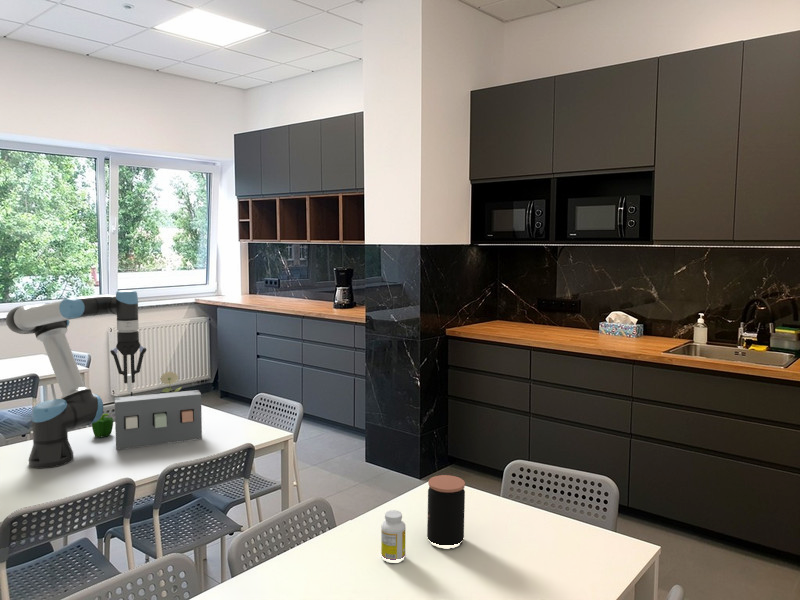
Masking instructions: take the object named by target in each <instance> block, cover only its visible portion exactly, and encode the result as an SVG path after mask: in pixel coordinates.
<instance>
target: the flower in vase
mask: <svg viewBox="0 0 800 600" xmlns="http://www.w3.org/2000/svg"><path fill="white" fill-rule="evenodd" d="M159 379H160V382H161V383H162V384H164V385H165V384H166V385H172V384H175V383H177V381H178V379H179V376H178V374H177V372H174V371H166V372H165V373H163V374H161V377H159ZM171 387H172V386H169V388H168V387H166V388H163V389H162V390H161V392H162V393H170V391H171V393H173V392H180V391H181V389H182V386H181V387H179V388H178V387H177V388H176V389H174V391H173V389H172V388H171Z"/></svg>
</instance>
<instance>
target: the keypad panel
mask: <svg viewBox="0 0 800 600" xmlns="http://www.w3.org/2000/svg"><path fill="white" fill-rule="evenodd" d="M201 393H202V392H200V390H198V389H197V390H196V389H195V390H185V391H177V392H174V391H173V392H162V393H153V394H142V395H141V394H140V395H133V396H131V395H129V396H121V397H114V399H113V400H114V425H115V428H114V429H115V446H116V447H115V448H116V450H119V451H120V450H124V449H126V448H127V449H133V448H141V447H148V446H149V447H150V446H157V445H164V444H170V443H171V444H173V443H179V442H186V441H187V442H188V441H197V440H202V439H203V431H202V430H203V427H202V423H203V422H202V421H203V418H202V394H201ZM188 409H192V411H193V421H191V422H183V423H182V421H181V419H180V410H188ZM161 412H165V414H166V418H167V427H159V428H155V425H154V413H161ZM132 415H137V421H138V428H131V429H126V425H125V416H132ZM127 449H126V450H127Z"/></svg>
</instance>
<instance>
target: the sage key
mask: <svg viewBox="0 0 800 600" xmlns="http://www.w3.org/2000/svg"><path fill="white" fill-rule="evenodd" d="M154 425H155V428H159V427H167V418H166V414H165V412H161V413H154Z"/></svg>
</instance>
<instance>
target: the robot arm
mask: <svg viewBox="0 0 800 600" xmlns="http://www.w3.org/2000/svg"><path fill="white" fill-rule="evenodd" d="M104 315H116V330H117V334H116V335H117V336H116V337H117V339H116V340H117V343H116V345H115V347H113V349H110V350H109V353H110V354H111V355H112V356H113V359H114V362H115V365H116V368H117V369H116V370H117V372H118V374H119V375H123V383H124V384H126V386H127V393H131V392H132V393H133V384H135V382H136V375H137V374H139V373H140V372H141V368H142V364H143V358H144V355H145V353H146V352H147V348H146V347H144V346H142V345H141V343H140V334H139V333H140V332H139V329H140V328H139V326H140V324H139V297H138V292H137V291H136V290H132V289H131V290H129V289H127V290H117V291H116V292H115V294H108V293H104V294H103V293H101V294H97V295H89V296H79V297H78V296H77V297H76V296H74V297H67V298H64V299H62V300H58V301H54V302H47V303H46V302H45V303H39V304H28V305H20V306H19V305H18V306H16V307H14V308H12V309H10V311H9V312H8V313H7V314H6V317H5V322H6V326H7V327H8V329H9V330H10V331H12V332H14V333H16V334H18V335H19V334H20V335H30V334H32V335H33V334H34V335H35V337H36V340H37V341H39V342H42V344H43V346H44V349H45V352H46V354H47V357H48V359H49V363H50V366H51V367H52V371H53V374H54V376H55V378H56V381H57V384H58V386H59V388H60V392H61V394H62V395H61V397H60V398H55V399H48V400H45V401H42V402H39V403H38V404H36V405H34V407H33V408H32V411H31V423H32V442H33V443H32V448H31V450H30V453H29V457H28V466H29V468H33V469H48V468H55V467H60V466H63V465H66V464H68V463H70V462H72V461H73V460H74V458H75V457H74V451H73V449H72V446H71V444H70V442H69V436H68V435H69V434H68V433H69V432H68V431H72V430H76V429H79V428H82V427H85V426H90V425H92V423H94V422H97V421H98V420H99V419H100V418H101V417H102V415H103V412H104V402H103V399H102V398H101V396H100V395H98V394H95V393H93V392H92V389H91V388H89V387H87V386H86V385H85V383H84V380H83V378H82V375H81V372H80V369H79V367H78V364H77V362H76V359H75V357H74V354H73V352H72V348H71V346H70V343H69V342H68V338H67V336H66V334H67V333H68V327H69V326H70V320H74V319H79V318H86V317H95V316H104ZM118 351H119V352H120V354H121V355H122V358H123V360H122V362H123V365H122V367H123V369H122V367H121V364H120V360H119V356H118V355H117V354H118ZM138 351H139V352H140V353H139V356H138V360H137V365H136V367H135V354H136V353H137V352H138ZM128 356H130V373H128ZM135 368H136V369H135Z"/></svg>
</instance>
